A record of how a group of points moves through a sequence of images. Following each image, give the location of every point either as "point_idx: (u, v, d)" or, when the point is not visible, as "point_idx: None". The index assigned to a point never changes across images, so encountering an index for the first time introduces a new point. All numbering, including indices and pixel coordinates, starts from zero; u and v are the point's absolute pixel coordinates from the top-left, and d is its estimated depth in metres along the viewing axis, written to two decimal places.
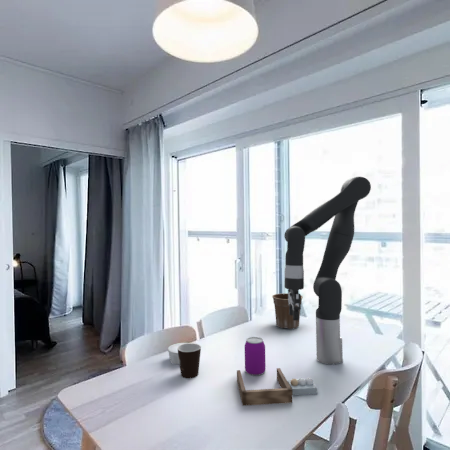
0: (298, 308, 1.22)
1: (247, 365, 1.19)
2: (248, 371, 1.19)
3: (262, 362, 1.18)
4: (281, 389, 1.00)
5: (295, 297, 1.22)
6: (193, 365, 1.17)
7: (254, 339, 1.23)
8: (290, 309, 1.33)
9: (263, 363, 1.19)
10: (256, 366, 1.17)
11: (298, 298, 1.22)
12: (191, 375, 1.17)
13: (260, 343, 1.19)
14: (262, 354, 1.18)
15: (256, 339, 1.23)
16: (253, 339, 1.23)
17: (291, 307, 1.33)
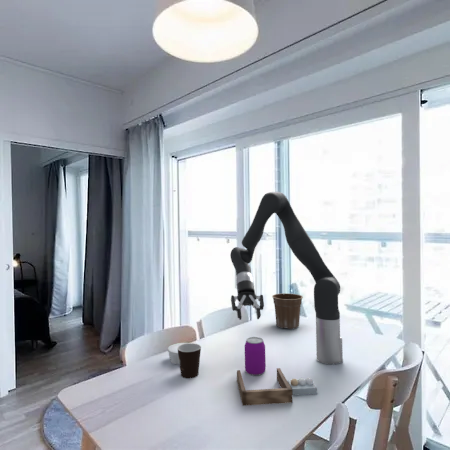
0: (232, 307, 1.35)
1: (247, 365, 1.19)
2: (248, 371, 1.19)
3: (262, 362, 1.18)
4: (281, 389, 1.00)
5: (231, 300, 1.39)
6: (193, 365, 1.17)
7: (254, 339, 1.23)
8: (256, 313, 1.35)
9: (263, 363, 1.19)
10: (256, 366, 1.17)
11: (231, 299, 1.38)
12: (191, 375, 1.17)
13: (260, 343, 1.19)
14: (262, 354, 1.18)
15: (256, 339, 1.23)
16: (253, 339, 1.23)
17: (256, 311, 1.35)
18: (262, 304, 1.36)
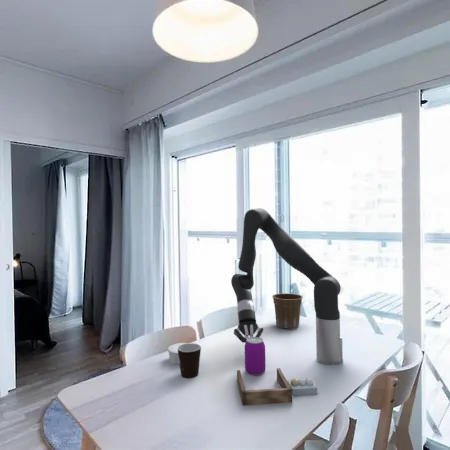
0: (242, 340, 1.33)
1: (247, 365, 1.19)
2: (248, 371, 1.19)
3: (262, 362, 1.18)
4: (281, 389, 1.00)
5: (235, 334, 1.36)
6: (193, 365, 1.17)
7: (254, 339, 1.23)
8: None
9: (263, 363, 1.19)
10: (256, 366, 1.17)
11: (236, 333, 1.35)
12: (191, 375, 1.17)
13: (260, 343, 1.19)
14: (262, 354, 1.18)
15: (256, 339, 1.23)
16: (253, 339, 1.23)
17: None
18: (256, 336, 1.33)
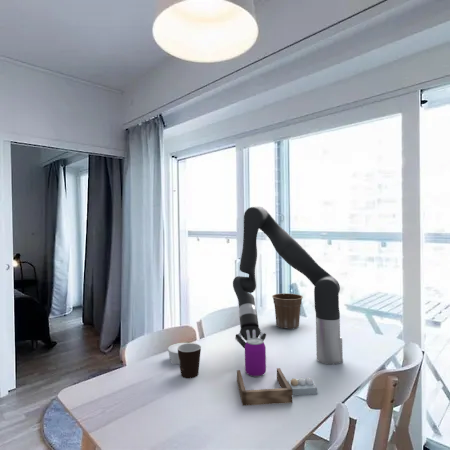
0: (244, 346, 1.27)
1: (247, 366, 1.18)
2: (248, 372, 1.17)
3: (262, 363, 1.17)
4: (281, 389, 1.00)
5: (237, 340, 1.30)
6: (193, 365, 1.17)
7: (254, 340, 1.21)
8: None
9: (263, 364, 1.18)
10: (256, 367, 1.16)
11: (237, 339, 1.29)
12: (191, 375, 1.17)
13: (260, 344, 1.18)
14: (262, 355, 1.17)
15: (256, 340, 1.21)
16: (253, 340, 1.21)
17: None
18: None
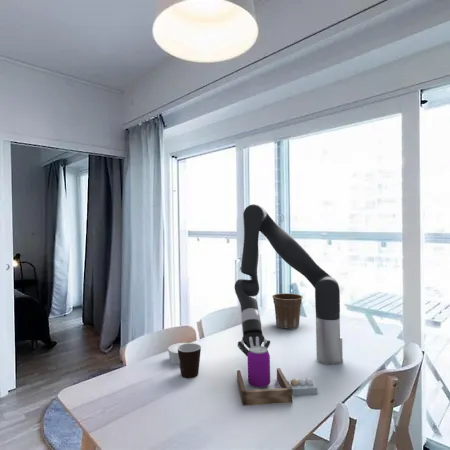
0: (247, 354, 1.19)
1: (250, 377, 1.10)
2: (251, 383, 1.09)
3: (267, 373, 1.09)
4: (281, 389, 1.00)
5: (239, 347, 1.22)
6: (193, 365, 1.17)
7: (258, 348, 1.13)
8: None
9: (268, 374, 1.09)
10: (260, 378, 1.08)
11: (240, 346, 1.21)
12: (191, 375, 1.17)
13: (264, 353, 1.09)
14: (267, 365, 1.09)
15: (260, 348, 1.13)
16: (257, 348, 1.13)
17: None
18: None
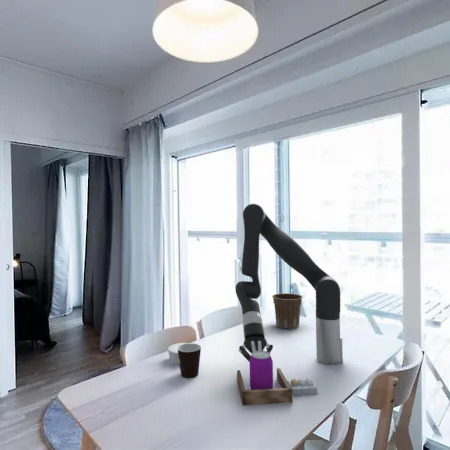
0: (249, 359, 1.15)
1: (253, 383, 1.05)
2: None
3: (270, 380, 1.05)
4: (281, 389, 1.00)
5: (240, 352, 1.18)
6: (193, 365, 1.17)
7: (260, 353, 1.09)
8: None
9: (271, 380, 1.05)
10: (262, 385, 1.04)
11: (241, 351, 1.17)
12: (191, 375, 1.17)
13: (267, 358, 1.05)
14: (270, 371, 1.05)
15: (262, 353, 1.09)
16: (259, 353, 1.09)
17: None
18: None
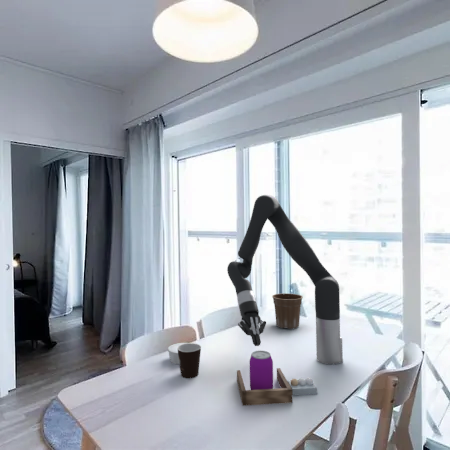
0: (248, 333, 1.27)
1: (253, 383, 1.05)
2: None
3: (270, 380, 1.05)
4: (281, 389, 1.00)
5: (240, 326, 1.28)
6: (193, 365, 1.17)
7: (260, 353, 1.09)
8: None
9: (271, 381, 1.05)
10: (262, 385, 1.04)
11: (242, 325, 1.27)
12: (191, 375, 1.17)
13: (267, 358, 1.05)
14: (270, 371, 1.05)
15: (262, 353, 1.09)
16: (259, 353, 1.09)
17: None
18: (261, 329, 1.30)
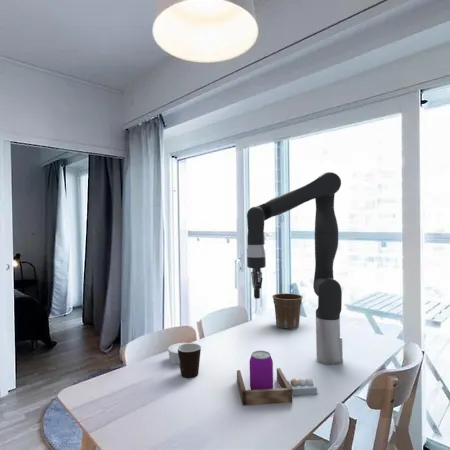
0: (259, 288, 1.30)
1: (253, 383, 1.05)
2: None
3: (270, 380, 1.05)
4: (281, 389, 1.00)
5: (257, 281, 1.27)
6: (193, 365, 1.17)
7: (260, 353, 1.09)
8: None
9: (271, 381, 1.05)
10: (262, 385, 1.04)
11: (260, 281, 1.27)
12: (191, 375, 1.17)
13: (267, 358, 1.05)
14: (270, 371, 1.05)
15: (262, 353, 1.09)
16: (259, 353, 1.09)
17: None
18: None
